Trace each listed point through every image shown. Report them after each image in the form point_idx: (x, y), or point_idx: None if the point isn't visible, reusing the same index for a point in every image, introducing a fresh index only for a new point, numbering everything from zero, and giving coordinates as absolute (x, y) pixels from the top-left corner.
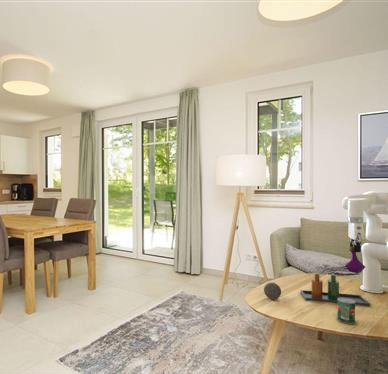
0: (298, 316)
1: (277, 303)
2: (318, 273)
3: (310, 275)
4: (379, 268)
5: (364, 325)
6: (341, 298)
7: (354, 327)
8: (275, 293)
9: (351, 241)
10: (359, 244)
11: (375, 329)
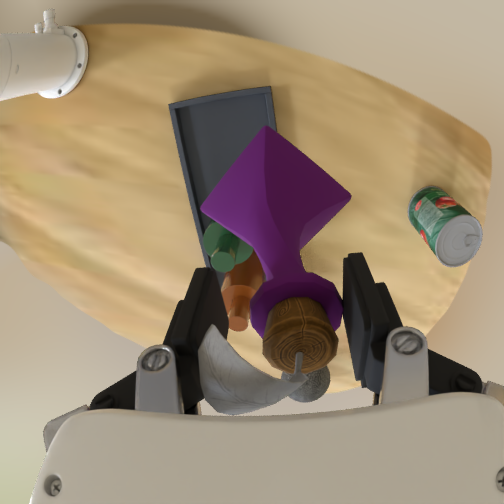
0: (415, 315)
1: (338, 351)
2: (230, 318)
3: (21, 242)
4: (3, 36)
5: (449, 166)
6: (441, 251)
7: (464, 199)
8: (329, 374)
9: (199, 410)
10: (434, 362)
11: (467, 145)
